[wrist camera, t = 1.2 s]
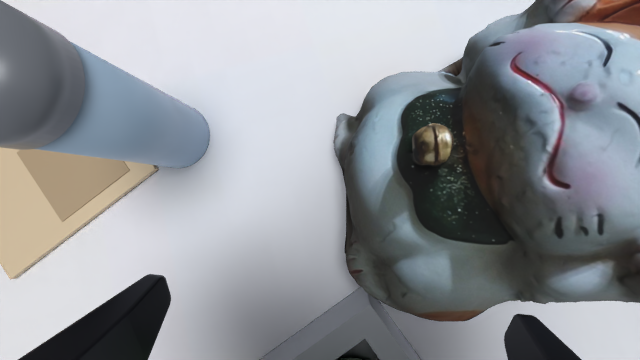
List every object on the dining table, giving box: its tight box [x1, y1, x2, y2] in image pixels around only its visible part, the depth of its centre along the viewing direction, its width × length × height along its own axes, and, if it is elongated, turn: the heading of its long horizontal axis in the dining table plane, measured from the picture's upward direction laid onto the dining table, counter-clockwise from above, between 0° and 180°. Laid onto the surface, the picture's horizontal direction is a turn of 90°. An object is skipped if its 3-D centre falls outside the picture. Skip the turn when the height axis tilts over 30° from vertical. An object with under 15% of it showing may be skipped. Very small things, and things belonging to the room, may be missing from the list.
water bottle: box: [0, 0, 210, 168], centre depth 16 cm, size 5×5×13 cm
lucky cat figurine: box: [334, 0, 640, 321], centre depth 15 cm, size 15×12×14 cm
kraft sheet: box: [0, 147, 158, 280], centre depth 23 cm, size 13×10×1 cm
